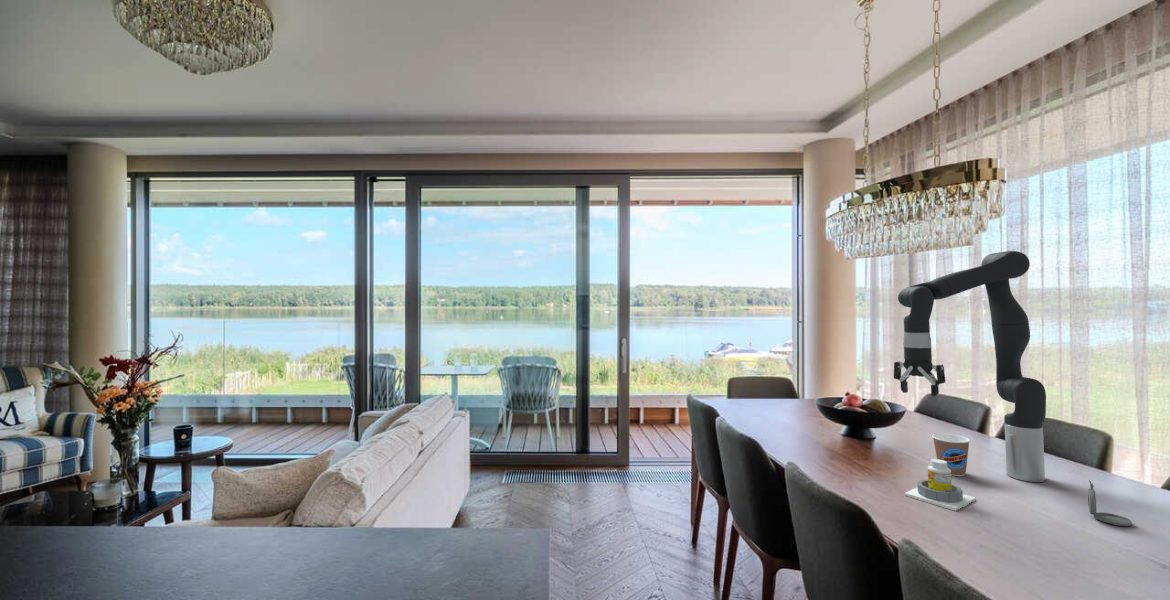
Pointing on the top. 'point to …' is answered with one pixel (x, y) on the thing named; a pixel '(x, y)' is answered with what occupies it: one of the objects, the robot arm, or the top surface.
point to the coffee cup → (952, 452)
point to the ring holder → (940, 496)
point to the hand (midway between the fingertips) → (919, 394)
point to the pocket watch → (1105, 516)
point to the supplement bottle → (939, 476)
